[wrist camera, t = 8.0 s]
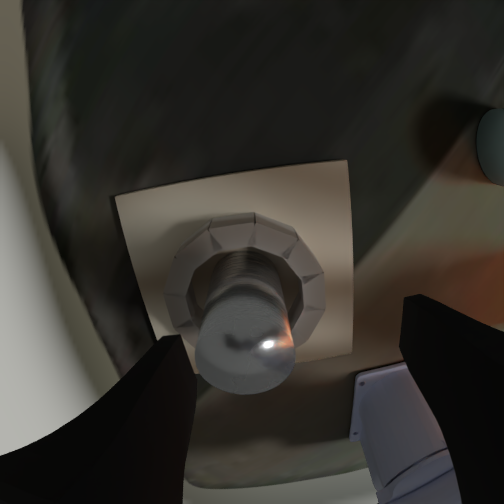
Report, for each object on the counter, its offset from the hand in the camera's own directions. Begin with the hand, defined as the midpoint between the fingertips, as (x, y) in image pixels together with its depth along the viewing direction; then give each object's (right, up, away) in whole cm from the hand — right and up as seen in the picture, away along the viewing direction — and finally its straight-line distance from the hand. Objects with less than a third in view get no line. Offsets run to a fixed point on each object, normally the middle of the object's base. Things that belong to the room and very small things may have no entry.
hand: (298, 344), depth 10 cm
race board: (-2, +1, +10) cm, 10 cm away
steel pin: (-2, +1, +9) cm, 9 cm away
